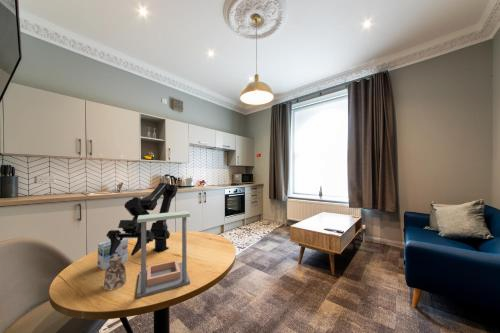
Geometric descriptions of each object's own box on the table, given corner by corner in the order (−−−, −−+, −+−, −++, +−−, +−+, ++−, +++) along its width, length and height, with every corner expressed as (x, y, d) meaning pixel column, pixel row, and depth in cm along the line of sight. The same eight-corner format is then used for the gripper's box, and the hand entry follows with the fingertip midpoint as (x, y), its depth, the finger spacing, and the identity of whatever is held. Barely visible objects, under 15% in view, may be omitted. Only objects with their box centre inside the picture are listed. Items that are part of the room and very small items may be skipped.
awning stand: (139, 274, 81) (140, 210, 82) (183, 264, 89) (183, 206, 90) (136, 298, 65) (137, 219, 66) (190, 283, 73) (190, 213, 74)
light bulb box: (102, 270, 84) (103, 246, 85) (96, 266, 88) (97, 243, 88) (128, 260, 94) (128, 239, 94) (121, 257, 97) (122, 236, 98)
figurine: (100, 292, 69) (101, 259, 69) (106, 282, 75) (107, 251, 76) (124, 287, 71) (124, 255, 72) (127, 278, 78) (128, 248, 78)
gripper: (110, 211, 83) (86, 246, 71) (151, 211, 82) (134, 246, 71) (122, 225, 90) (103, 258, 79) (160, 224, 90) (146, 258, 78)
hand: (120, 255), depth 76 cm, fingers open, 9 cm apart
